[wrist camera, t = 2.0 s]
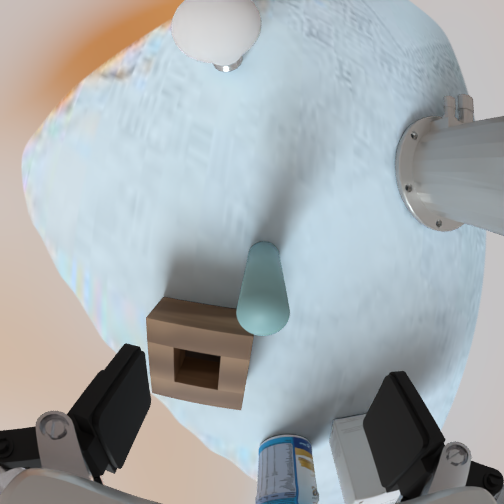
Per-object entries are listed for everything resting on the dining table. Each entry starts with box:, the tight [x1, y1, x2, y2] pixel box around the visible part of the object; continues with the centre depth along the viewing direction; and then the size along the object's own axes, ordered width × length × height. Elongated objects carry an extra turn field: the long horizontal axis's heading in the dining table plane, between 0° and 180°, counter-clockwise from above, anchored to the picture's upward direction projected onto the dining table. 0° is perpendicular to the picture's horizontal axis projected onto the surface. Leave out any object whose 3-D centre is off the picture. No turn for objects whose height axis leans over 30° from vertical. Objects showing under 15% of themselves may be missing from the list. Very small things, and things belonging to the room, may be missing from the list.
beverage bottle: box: [256, 435, 319, 504], centre depth 25 cm, size 8×8×20 cm
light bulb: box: [171, 0, 261, 72], centre depth 17 cm, size 7×7×11 cm
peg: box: [236, 242, 290, 336], centre depth 21 cm, size 3×3×12 cm
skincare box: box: [329, 414, 400, 504], centre depth 26 cm, size 8×6×15 cm
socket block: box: [146, 297, 254, 410], centre depth 27 cm, size 10×10×5 cm
